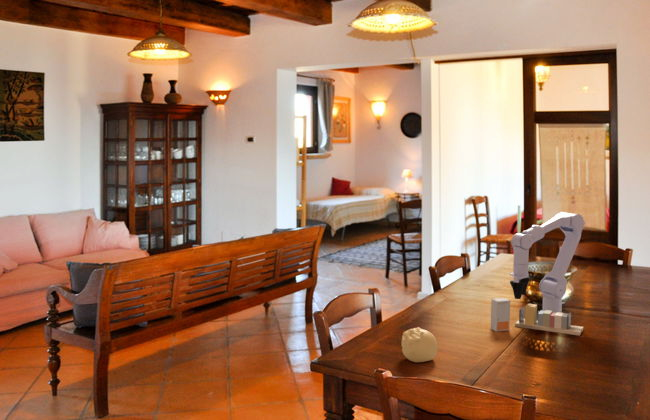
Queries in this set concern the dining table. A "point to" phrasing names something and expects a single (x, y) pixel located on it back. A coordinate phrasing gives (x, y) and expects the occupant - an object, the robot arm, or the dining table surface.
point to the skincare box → (500, 314)
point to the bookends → (521, 317)
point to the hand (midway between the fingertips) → (520, 296)
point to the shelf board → (572, 330)
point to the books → (552, 319)
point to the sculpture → (419, 345)
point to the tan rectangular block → (530, 314)
